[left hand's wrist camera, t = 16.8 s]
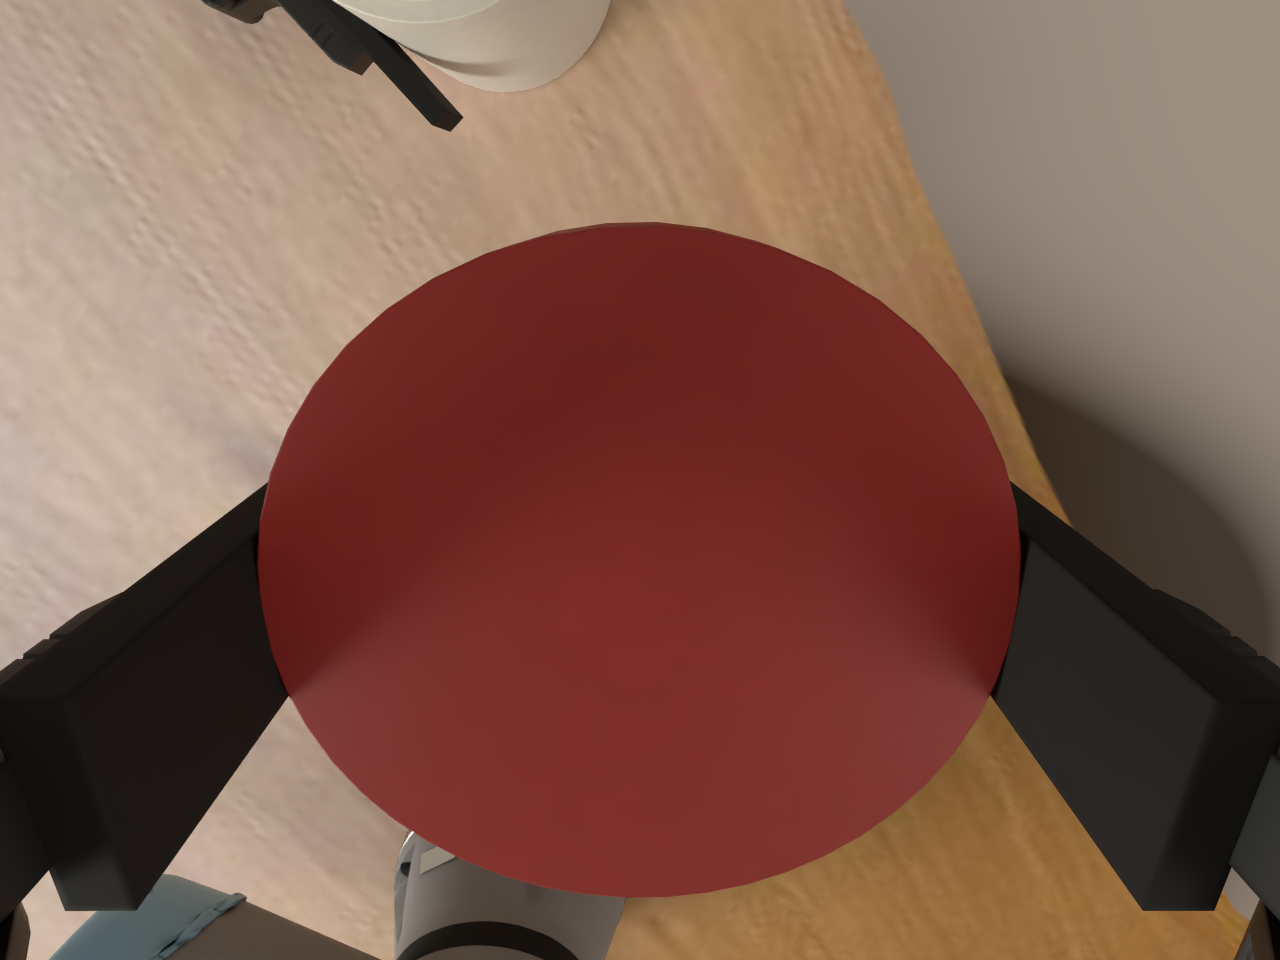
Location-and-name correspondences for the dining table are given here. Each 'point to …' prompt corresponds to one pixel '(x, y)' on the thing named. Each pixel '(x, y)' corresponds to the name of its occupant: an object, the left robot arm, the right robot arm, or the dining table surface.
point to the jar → (490, 36)
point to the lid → (639, 561)
